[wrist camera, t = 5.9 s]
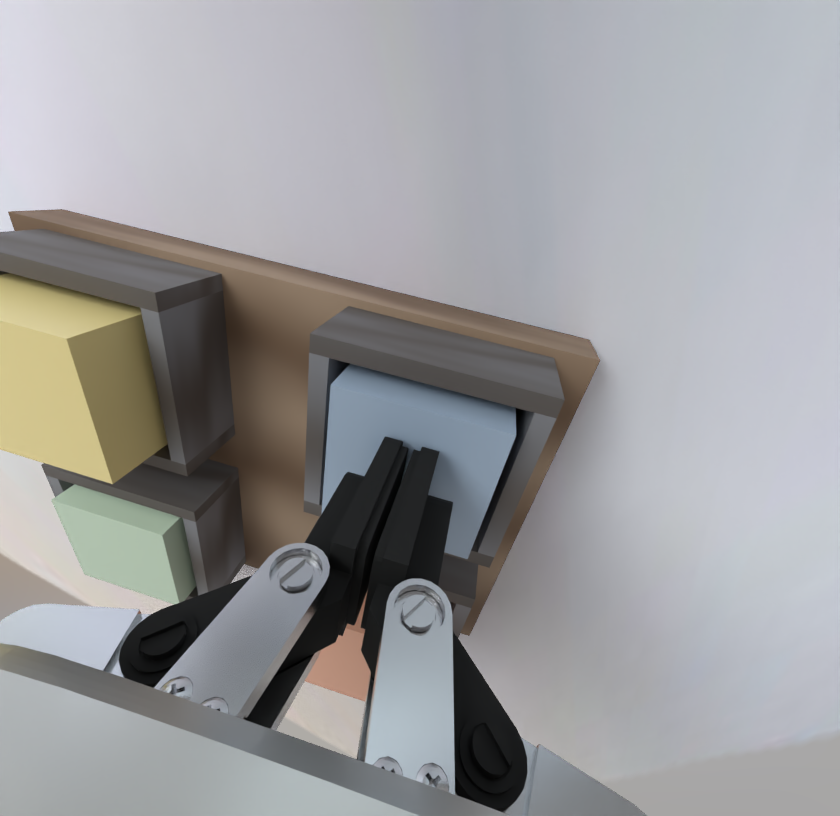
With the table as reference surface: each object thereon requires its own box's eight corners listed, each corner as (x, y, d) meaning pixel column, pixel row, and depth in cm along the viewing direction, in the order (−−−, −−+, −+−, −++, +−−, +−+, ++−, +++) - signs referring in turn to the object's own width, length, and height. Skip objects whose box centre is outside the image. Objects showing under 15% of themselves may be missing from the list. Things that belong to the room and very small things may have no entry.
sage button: (121, 453, 19) (51, 499, 16) (215, 482, 19) (162, 535, 16) (141, 523, 22) (84, 574, 19) (224, 550, 21) (180, 606, 19)
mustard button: (30, 269, 13) (-103, 292, 10) (166, 305, 13) (65, 338, 10) (73, 396, 16) (-23, 442, 13) (186, 429, 16) (112, 484, 13)
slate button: (369, 342, 13) (330, 385, 11) (514, 380, 13) (516, 435, 10) (355, 456, 16) (321, 514, 13) (475, 491, 16) (467, 559, 13)
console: (61, 209, 16) (-103, 216, 12) (589, 339, 14) (623, 404, 10) (141, 499, 25) (64, 564, 20) (472, 602, 23) (463, 696, 19)
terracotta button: (337, 542, 17) (301, 613, 14) (449, 576, 17) (436, 657, 14) (330, 607, 20) (299, 678, 17) (426, 638, 19) (411, 717, 16)
